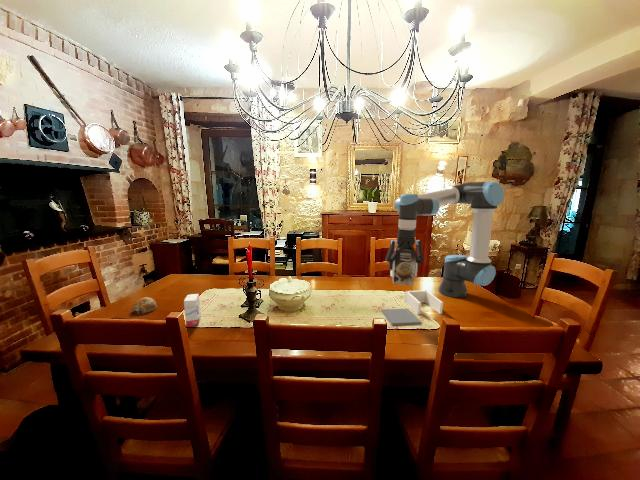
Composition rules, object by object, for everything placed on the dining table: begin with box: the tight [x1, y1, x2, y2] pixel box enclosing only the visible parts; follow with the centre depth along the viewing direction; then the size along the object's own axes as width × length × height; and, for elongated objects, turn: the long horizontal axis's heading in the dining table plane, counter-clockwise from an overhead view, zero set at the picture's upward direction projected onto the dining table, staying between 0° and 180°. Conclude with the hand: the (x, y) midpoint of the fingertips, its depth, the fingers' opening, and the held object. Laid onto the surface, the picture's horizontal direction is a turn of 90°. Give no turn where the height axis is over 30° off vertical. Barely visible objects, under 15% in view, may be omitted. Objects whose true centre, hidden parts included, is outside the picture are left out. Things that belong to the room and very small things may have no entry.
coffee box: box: [392, 247, 417, 286], centre depth 122 cm, size 9×6×16 cm
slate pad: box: [381, 308, 422, 326], centre depth 126 cm, size 14×14×1 cm
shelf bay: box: [404, 290, 444, 315], centre depth 137 cm, size 12×16×6 cm
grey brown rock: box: [132, 296, 158, 315], centre depth 131 cm, size 10×10×8 cm
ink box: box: [183, 293, 202, 327], centre depth 118 cm, size 9×5×12 cm, turn 16°
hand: (403, 276), depth 122 cm, fingers closed on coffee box, 10 cm apart
